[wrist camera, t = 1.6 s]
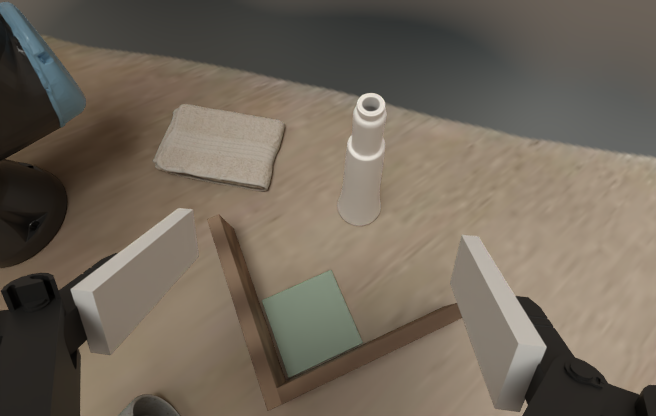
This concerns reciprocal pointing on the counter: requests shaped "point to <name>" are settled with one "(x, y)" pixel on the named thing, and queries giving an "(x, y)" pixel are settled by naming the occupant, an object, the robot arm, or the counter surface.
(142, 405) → the ceramic mug
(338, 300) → the mat
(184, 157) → the washcloth
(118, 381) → the counter surface
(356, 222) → the cosmetic bottle
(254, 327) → the walnut corner walls
